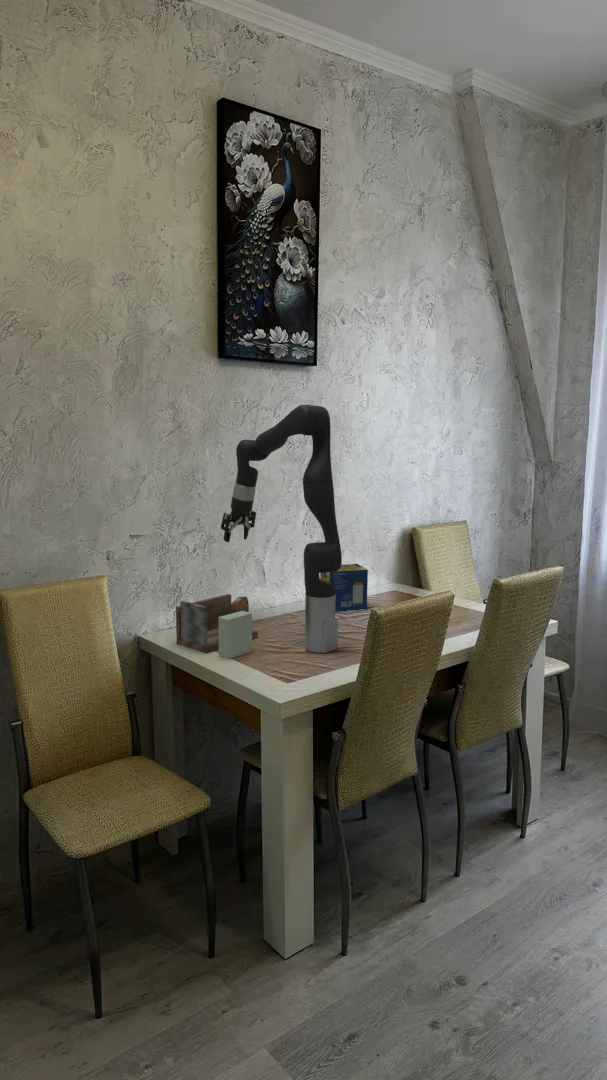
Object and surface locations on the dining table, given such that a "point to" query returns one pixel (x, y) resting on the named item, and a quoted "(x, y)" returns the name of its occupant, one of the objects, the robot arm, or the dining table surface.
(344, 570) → the protein box
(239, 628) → the sage green tall block
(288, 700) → the dining table surface
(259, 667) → the dining table surface
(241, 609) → the tin
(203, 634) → the bookshelf
